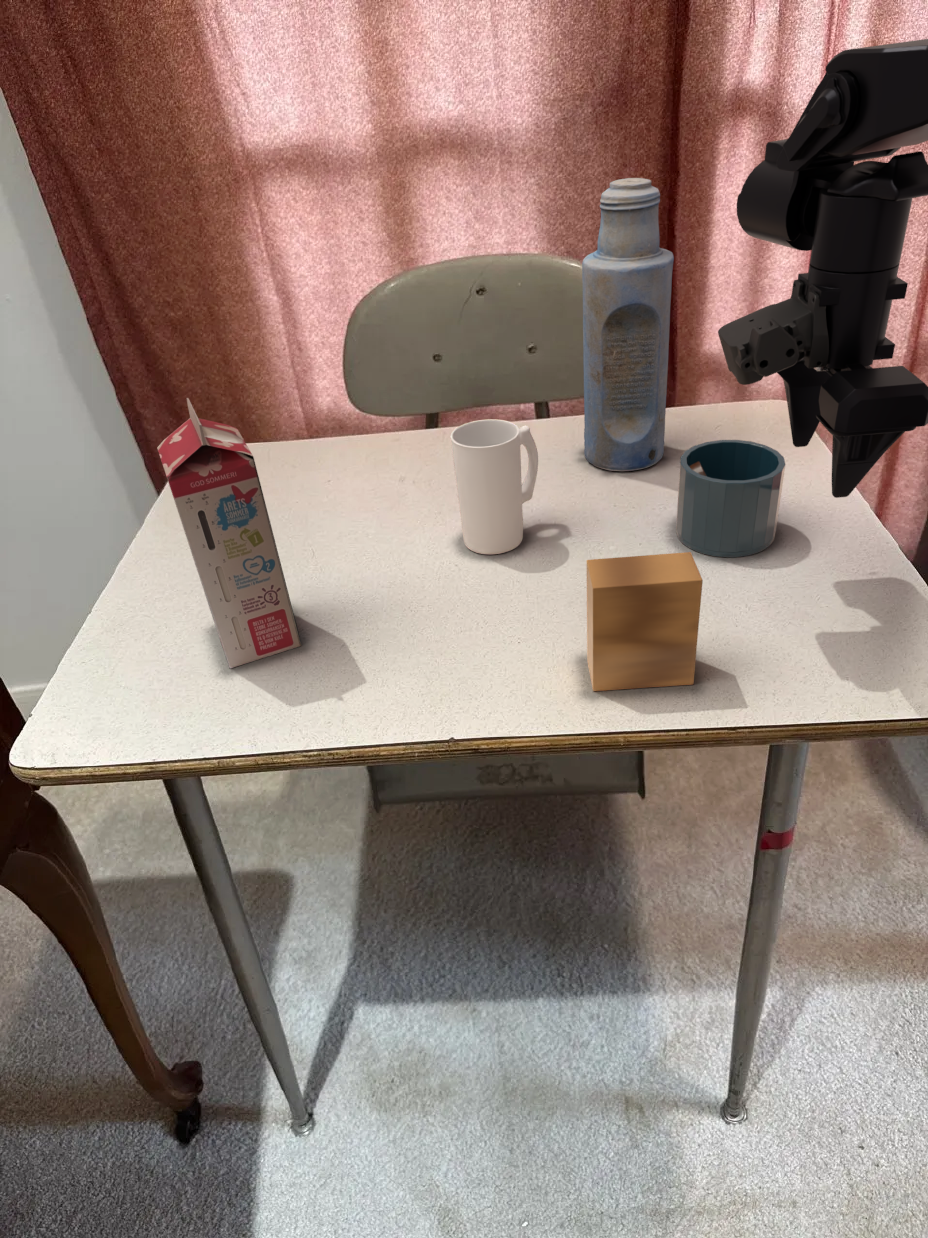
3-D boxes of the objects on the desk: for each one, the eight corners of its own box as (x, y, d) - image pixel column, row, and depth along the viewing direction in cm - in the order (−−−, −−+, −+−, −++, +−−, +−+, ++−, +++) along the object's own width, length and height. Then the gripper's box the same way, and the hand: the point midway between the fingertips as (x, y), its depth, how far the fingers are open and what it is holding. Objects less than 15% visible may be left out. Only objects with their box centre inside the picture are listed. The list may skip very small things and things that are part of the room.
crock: (784, 518, 86) (794, 446, 82) (761, 565, 80) (771, 489, 75) (691, 503, 90) (697, 434, 86) (663, 547, 84) (667, 474, 79)
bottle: (586, 475, 98) (584, 193, 81) (581, 440, 106) (579, 177, 89) (668, 471, 97) (685, 184, 80) (658, 436, 105) (671, 168, 88)
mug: (489, 564, 84) (480, 453, 77) (448, 541, 89) (436, 434, 82) (561, 526, 89) (558, 420, 82) (519, 506, 93) (513, 403, 87)
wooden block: (683, 654, 70) (691, 551, 64) (693, 684, 67) (703, 579, 61) (587, 660, 70) (586, 559, 65) (592, 691, 67) (592, 588, 61)
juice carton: (284, 609, 81) (226, 388, 68) (301, 645, 76) (242, 414, 63) (216, 630, 79) (144, 407, 66) (229, 668, 74) (153, 435, 61)
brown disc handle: (715, 521, 86) (726, 515, 86) (721, 533, 83) (732, 527, 83) (685, 462, 84) (697, 456, 83) (690, 472, 81) (702, 466, 80)
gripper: (704, 245, 66) (691, 431, 75) (775, 312, 51) (748, 536, 60) (849, 231, 65) (818, 421, 74) (965, 294, 50) (908, 523, 59)
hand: (818, 469), depth 67 cm, fingers open, 9 cm apart
